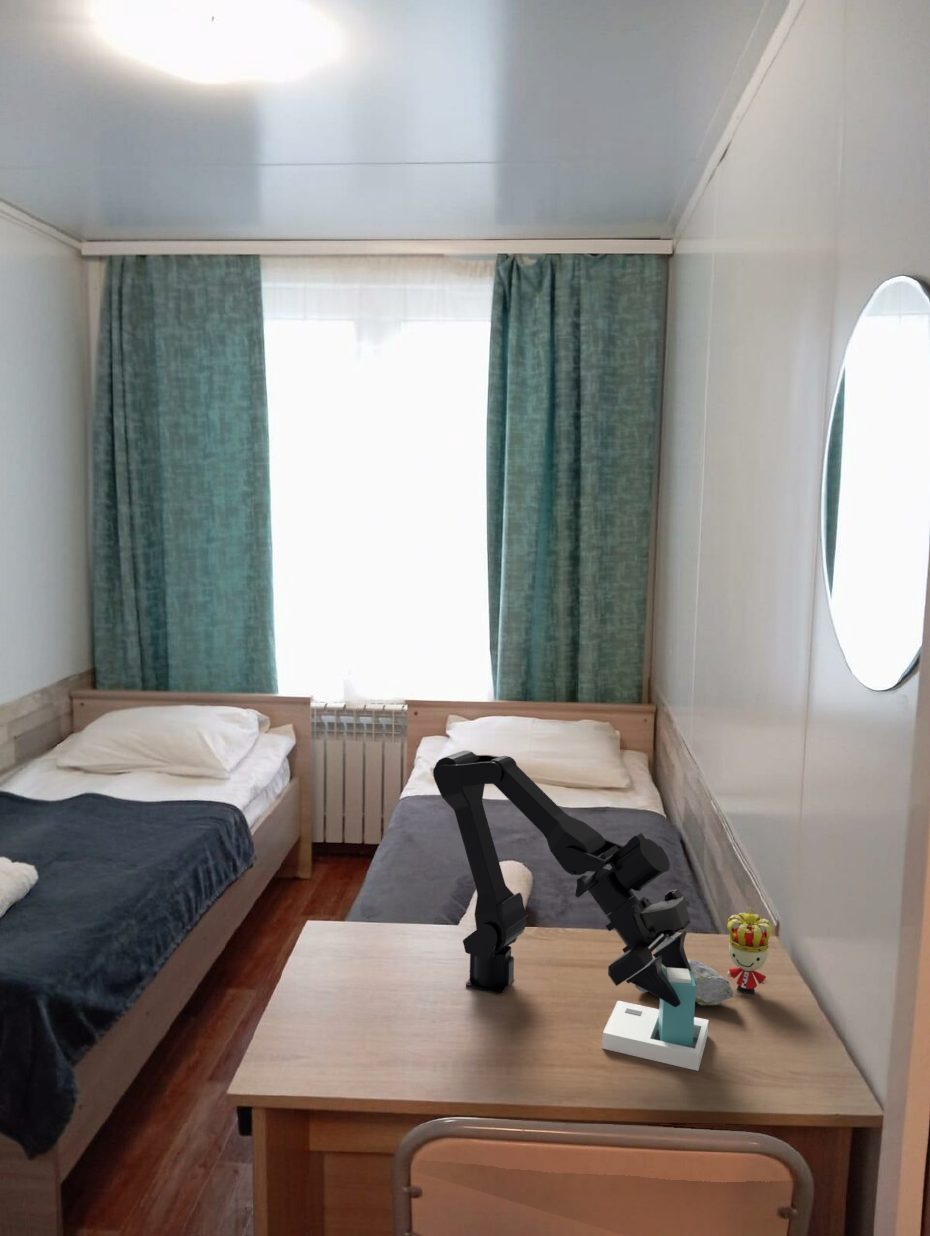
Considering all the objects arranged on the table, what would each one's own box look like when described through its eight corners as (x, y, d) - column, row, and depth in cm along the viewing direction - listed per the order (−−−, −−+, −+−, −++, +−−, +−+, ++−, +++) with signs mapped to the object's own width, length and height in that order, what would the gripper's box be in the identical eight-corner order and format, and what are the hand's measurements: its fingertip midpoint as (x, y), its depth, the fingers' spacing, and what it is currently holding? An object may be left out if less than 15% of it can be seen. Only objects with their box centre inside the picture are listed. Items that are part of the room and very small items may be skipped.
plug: (661, 1044, 139) (664, 979, 138) (658, 1027, 144) (661, 964, 143) (692, 1046, 139) (696, 982, 138) (688, 1029, 143) (692, 967, 142)
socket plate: (602, 1048, 141) (602, 1031, 141) (617, 1015, 150) (617, 999, 150) (698, 1070, 136) (699, 1053, 136) (707, 1035, 145) (708, 1019, 145)
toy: (720, 996, 157) (725, 909, 155) (726, 976, 164) (731, 893, 162) (766, 1005, 154) (771, 917, 153) (769, 985, 161) (775, 900, 159)
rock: (738, 999, 157) (740, 960, 156) (730, 1019, 150) (732, 979, 149) (645, 977, 163) (646, 940, 162) (633, 996, 157) (635, 957, 156)
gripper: (631, 899, 133) (703, 998, 128) (681, 859, 149) (747, 946, 144) (579, 937, 138) (646, 1033, 134) (632, 895, 154) (694, 980, 149)
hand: (686, 996), depth 140 cm, fingers closed on plug, 6 cm apart
